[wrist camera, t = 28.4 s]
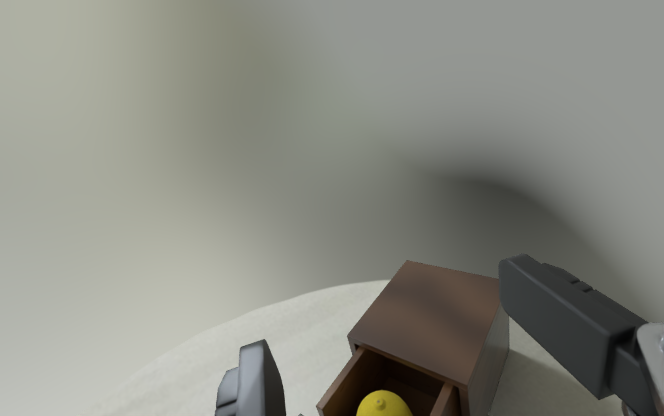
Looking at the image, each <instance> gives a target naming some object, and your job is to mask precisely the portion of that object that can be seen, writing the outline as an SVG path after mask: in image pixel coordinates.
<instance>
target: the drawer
mask: <svg viewBox="0 0 664 416" xmlns="http://www.w3.org/2000/svg"><path fill="white" fill-rule="evenodd" d="M380 390H384V391H389V392H392V393H395V394H396V395H398V396H399V397H400V398H401V399H402V400H403V401H404V402H405V403H406V404H407V406H408V407H409V409H410V411H411V413H412V415H413V416H462V413H461V404H460V394H459V388H458V387H456V386H454V385H451V384H449V383H447V382H444V381H442V380H439V379H437V378H435V377H432V376H430V375H428V374H425V373H423V372H421V371H418V370H416V369H414V368H411V367H409V366H406V365H404V364H402V363H399V362H397V361H395V360H392V359H390V358H388V357H385V356H383V355H381V354H378V353H376V352H373V351H371V350H369V349H366V348H364V347H362V346H359V348H358V349H357V351H356V352H355V353H354V355H353V356H352V357H351V359H350V360H349V361H348V363H347V364H346V366H345V367H344V368H343V370H342V371H341V372H340V374H339V375H338V376H337V378H336V379H335V381H334V382H333V383H332V385H331V386H330V387H329V389H328V390H327V391H326V393H325V394H324V395H323V397H322V398H321V400H320V401H319V402H318V404H317V405H316V407H317V410H318V413H319V415H320V416H356V414H357V410H358V407H359V405H360V404H361V402H362V400H363V399H364V398H365V397H366V396H367V395H369V394H370V393H372V392H375V391H380ZM299 416H303V415H302V414H299Z"/></svg>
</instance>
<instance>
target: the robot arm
mask: <svg viewBox="0 0 664 416" xmlns="http://www.w3.org/2000/svg"><path fill="white" fill-rule="evenodd" d="M499 299H500V302H501V305H502V307H503V308H504V310H505V311H506V313H507V314H508V315H509V316H510V317H511V318H512V319H513V320H514V321H515V322H516V323H518V324H519V325H520V326H521V327H522V328H523V329H524V330H525V331H526V332H527V333H528V334H529V335H530V336H531V337H532V338H533V339H535V340H536V341H537V342H538V343H539V344H540V345H541V346H542V347H543V348H544V349H545V350H546V351H547V352H548V353H549V354H550V355H552V356H553V357H554V358H555V359H556V360H557V361H558V362H559V363H560V364H561V365H562V366H563V367H564V368H565V369H566V370H567V371H569V372H570V373H571V374H572V375H573V376H574V377H575V378H576V379H577V380H578V381H579V382H580V383H581V384H582V385H583V386H584V387H586V388H587V389H588V390H589V391H590V392H591V393H592V394H593V395H594V396H595V397H596V398H597V399H598V400H600V399H603V398H605V397H608V396H610V395H613V394H616V395H617V396H618V397H619V398H620V399H621V400H622V411H623V415H624V416H664V323H663V322H662V323H661V322H653V323H649V322H647V321H645V320H644V319H642V318H640V317H639V316H637V315H636V314H634V313H632V312H631V311H629V310H628V309H626V308H624V307H623V306H621V305H619V304H618V303H616V302H615V301H613V300H612V299H610V298H608V297H607V296H605V295H603V294H602V293H600V292H599V291H597V290H593V288H592V287H591V286H589V285H587V284H586V283H584V282H583V281H580V280H579V279H578V278H576V277H575V276H573V275H572V274H570V273H568V272H567V271H565V270H564V269H561V268H558V267H555V266H552V265H549V264H546V263H543V264H540V263H539V262H537V261H535V260H534V259H533V258H531V257H530V256H528V255H526V254H519V255H516V256H513V257H510V258H507V259H504V260H501V261H500V262H499ZM215 416H286V408H285V397H284V389H283V384H282V380H281V376H280V373H279V371H278V368H277V366H276V363H275V361H274V358H273V356H272V354H271V351H270V349H269V346H268V344H267V342H266V340H265V339H263V340H260V341H257V342H254V343H251V344H248V345H245V346H242V347H241V348H240V354H239V367H236V368H234V369H231V370H228V371H226V373H225V375H224V377H223V379H222V381H221V383H220V385H219V387H218V393H217V401H216V410H215Z"/></svg>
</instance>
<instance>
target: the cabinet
mask: <svg viewBox="0 0 664 416" xmlns="http://www.w3.org/2000/svg"><path fill="white" fill-rule="evenodd" d="M347 338H348V341H349V345H350V348H351V352H352V355H354V353H355V352H356V351H357V349H358V348H359V346H362V347H364V348H366V349H369V350H371V351H373V352H376V353H378V354H381V355H383V356H385V357H388V358H390V359H392V360H395V361H397V362H399V363H402V364H404V365H406V366H409V367H411V368H414V369H416V370H418V371H421V372H423V373H425V374H428V375H430V376H432V377H435V378H437V379H439V380H442V381H444V382H447V383H449V384H451V385H454V386H456V387H458V388H459V394H460V404H461V413H462V416H488V414H489V411H490V408H491V405H492V401H493V398H494V395H495V392H496V389H497V386H498V383H499V379H500V376H501V373H502V370H503V367H504V364H505V361H506V357H507V354H508V351H509V315H508V314H507V313H506V311H505V310H504V308H503V307H502V305H501V302H500V299H499V279H496V278H491V277H486V276H481V275H476V274H471V273H466V272H462V271H457V270H452V269H447V268H442V267H437V266H432V265H428V264H423V263H418V262H413V261H408V260H407V261H406V262H405V263H404V264H403V266H402V267H401V268H400V269H399V271H398V272H397V273H396V274H395V276H394V277H393V278H392V279H391V281H390V282H389V283H388V284H387V286H386V287H385V288H384V290H383V291H382V292H381V293H380V295H379V296H378V297H377V298H376V300H375V301H374V302H373V303H372V305H371V306H370V307H369V308H368V310H367V311H366V312H365V313H364V315H363V316H362V317H361V319H360V320H359V321H358V322H357V324H356V325H355V326H354V327H353V329H352V330H351V331H350V332H349V334H348V335H347Z"/></svg>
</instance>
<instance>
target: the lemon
mask: <svg viewBox="0 0 664 416" xmlns="http://www.w3.org/2000/svg"><path fill="white" fill-rule="evenodd" d="M356 416H413V415H412V413H411V411H410V409H409V407H408V406H407V404H406V403H405V402H404V401H403V400H402V399H401V398H400V397H399V396H398V395H396V394H395V393H392V392H389V391H384V390H380V391H375V392H372V393H370V394H369V395H367V396H366V397H365V398H364V399H363V400H362V402H361V404H360V405H359V407H358V410H357V414H356Z"/></svg>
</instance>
